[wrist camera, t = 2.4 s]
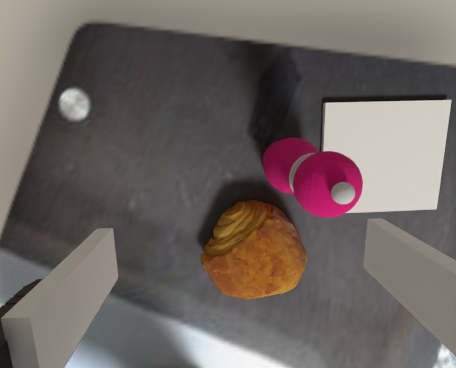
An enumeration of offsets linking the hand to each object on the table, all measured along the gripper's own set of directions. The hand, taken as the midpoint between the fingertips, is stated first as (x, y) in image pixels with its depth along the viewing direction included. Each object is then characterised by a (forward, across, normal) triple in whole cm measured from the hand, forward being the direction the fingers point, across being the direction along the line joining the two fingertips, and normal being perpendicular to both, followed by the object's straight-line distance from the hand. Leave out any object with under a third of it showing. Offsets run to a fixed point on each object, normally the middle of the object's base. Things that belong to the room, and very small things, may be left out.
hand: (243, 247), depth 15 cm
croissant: (+27, +4, -13) cm, 30 cm away
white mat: (+27, +23, +1) cm, 36 cm away
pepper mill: (+27, +9, +1) cm, 28 cm away
